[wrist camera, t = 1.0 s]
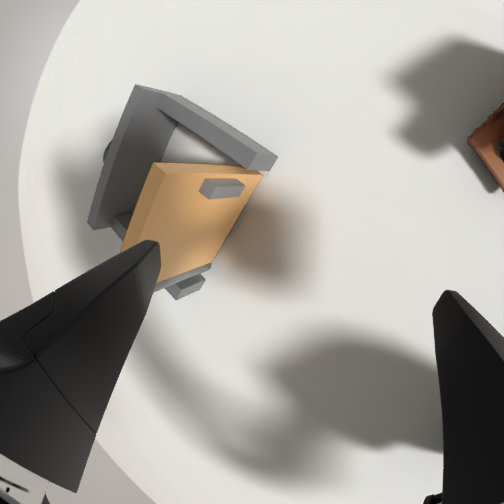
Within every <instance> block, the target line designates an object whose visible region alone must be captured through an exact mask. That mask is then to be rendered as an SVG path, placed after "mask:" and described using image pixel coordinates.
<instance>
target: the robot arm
mask: <svg viewBox="0 0 504 504" xmlns="http://www.w3.org/2000/svg"><path fill="white" fill-rule="evenodd" d="M160 270H161V253H160V244H159V242H158V241H153V240H144V241H142V242H140V243H138V244H136V245H134V246H132V247H130V248H129V249H127V250H125V251H123V252H121V253H119V254H118V255H116V256H114V257H112V258H110V259H109V260H107V261H105V262H103V263H101V264H100V265H98V266H96V267H94V268H93V269H91V270H89V271H87V272H86V273H84V274H82V275H80V276H79V277H77V278H75V279H73V280H72V281H70V282H68V283H67V284H65V285H63V286H62V287H60V288H58V289H56V290H55V292H54V291H53V292H51V293H50V294H48V295H46V296H45V297H43V298H41V299H40V300H38V301H36V302H35V303H33V304H31V305H30V306H28V307H26V308H24V309H23V310H20V311H19V312H17V313H15V314H13V315H11V316H9V317H7V318H6V319H3V320H1V321H0V504H50V503H49V501H48V499H47V497H46V494H45V492H46V489H47V487H48V484H49V481H50V482H52V483H54V484H56V485H59V486H61V487H63V488H65V489H68V490H70V491H72V492H74V493H77V490H78V488H79V484H80V481H81V478H82V475H83V472H84V468H85V466H86V463H87V460H88V457H89V454H90V451H91V448H92V445H93V443H94V440H95V437H96V434H95V433H97V431H98V428H99V426H100V423H101V420H102V418H103V415H104V412H105V410H106V407H107V405H108V402H109V399H110V397H111V394H112V392H113V389H114V387H115V384H116V382H117V380H118V377H119V375H120V372H121V370H122V367H123V365H124V363H125V360H126V358H127V356H128V353H129V351H130V349H131V346H132V344H133V342H134V340H135V337H136V335H137V333H138V331H139V328H140V326H141V324H142V322H143V320H144V317H145V315H146V312H147V309H148V307H149V303H150V300H151V297H152V294H153V291H154V288H155V285H156V282H157V279H158V277H159V274H160ZM432 316H433V327H434V339H435V354H436V362H437V369H438V377H439V386H440V396H441V408H442V423H443V467H444V469H443V490H442V493H440V494H436V495H434V494H433V495H430V496H426V498H425V500H424V503H423V504H504V337H503V336H502V335H501V334H500V333H499V332H498V331H497V330H496V329H495V328H494V327H493V326H492V325H491V324H490V323H489V322H488V321H487V320H486V319H485V318H484V317H483V316H482V315H481V314H480V313H479V312H478V311H477V310H476V309H475V308H474V307H472V306H471V305H470V304H469V303H468V302H467V301H466V300H465V299H464V298H463V297H462V296H461V295H460V294H459V293H457V292H456V291H452V290H445V291H444V292H443V293H442V295H441V297H440V298H439V300H438V302H437V303H436V305H435V306H434V308H433V313H432Z"/></svg>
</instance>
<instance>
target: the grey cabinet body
mask: <svg viewBox="0 0 504 504" xmlns="http://www.w3.org/2000/svg"><path fill="white" fill-rule="evenodd" d="M177 122H180V123H181V124H183V125H184V126H186V127H187V128H188V129H190V130H191V131H193V132H194V133H196V134H197V135H199V136H200V137H202V138H203V139H205V140H206V141H207V142H209V143H210V144H212V145H213V146H215V147H216V148H218V149H219V150H220V151H222V152H223V153H225V154H226V155H227V156H229V157H230V158H232V159H233V160H234V161H236V162H237V163H239V164H240V165H241V166H243V167H244V168H245V169H247V170H259V171H270V169H271V167H272V166H273V164H274V163H275V161H276V159H277V158H278V156H276V155H275V154H273V153H272V152H270V151H269V150H267V149H266V148H264V147H263V146H261V145H260V144H258V143H257V142H255V141H254V140H252V139H251V138H249V137H248V136H246V135H245V134H243V133H242V132H240V131H238V130H237V129H235V128H234V127H232V126H231V125H229V124H227V123H226V122H224V121H223V120H221V119H219V118H218V117H216V116H214V115H213V114H211V113H209V112H208V111H206V110H204V109H203V108H201V107H199V106H198V105H196V104H194V103H193V102H191V101H189V100H187V99H186V98H184V97H182V96H180V95H177V94H173V93H170V92H166V91H162V90H158V89H153V88H149V87H145V86H141V85H136V84H135V86H134V88H133V91H132V93H131V95H130V97H129V100H128V102H127V104H126V107H125V109H124V112H123V114H122V117H121V119H120V122H119V124H118V127H117V129H116V132H115V135H114V137H113V140H112V141H111V142H110V143H109V144H108V146H107V148H106V150H105V152H104V156H103V161H104V166H103V169H102V172H101V175H100V179H99V182H98V185H97V189H96V192H95V196H94V199H93V203H92V206H91V210H90V214H89V218H88V224H89V225H90V226H91V228H92V229H93V230H97V229H102V228H107V227H112V229H113V230H114V231H115V232H116V233H117V235H118V236H119V237H120V238H121V239H122V241H123V242H124V239H125V236H126V233H127V230H128V227H129V224H130V221H131V218H132V216H133V213H134V210H135V207H136V205H137V202H138V199H139V197H140V194H141V192H142V189H143V186H144V184H145V181H146V179H147V176H148V174H149V172H150V169H151V167H152V164H153V163H159V162H160V159H161V157H162V155H163V153H164V150H165V148H166V146H167V144H168V142H169V139H170V137H171V135H172V133H173V131H174V129H175V127H176V125H177ZM204 281H205V279H204V278H203V277H202V276H201V275H200V274H197V275H195V276H192V277H190V278H188V279H185V280H183V281H180V282H178V283H175V284H173V285H170V286H168V287H165V289H166V290H167V291H168V292H169V293H170V294H171V295H172V297H173V298H174V299H175V300H178V299H180V298H182V297H185V296H187V295H189V294H191V293H193V292H195V291H197V290H200V288H201V286H202V285H203V283H204Z"/></svg>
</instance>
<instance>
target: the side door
mask: <svg viewBox="0 0 504 504" xmlns="http://www.w3.org/2000/svg"><path fill="white" fill-rule="evenodd" d="M262 176H263V175H262V174H261V173H260V172H258V171H257V170H247V169H245V168H244V167H241V166H227V165H210V164H189V163H153V164H152V167H151V169H150V172H149V174H148V176H147V179H146V181H145V184H144V186H143V189H142V192H141V194H140V197H139V199H138V202H137V205H136V207H135V210H134V213H133V216H132V218H131V221H130V224H129V227H128V230H127V233H126V236H125V239H124V242H123V245H122V248H121V251H120V253H121V252H123V251H125V250H127V249H129V248H130V247H132V246H134V245H136V244H138V243H140V242H142V241H144V240H153V241H158V242H159V244H160V253H161V270H160V274H159V277H158V279H157V282H156V285H155V288H154V291H153V292H155V291H158V290H160V289H163V288H165V287H168V286H170V285H173V284H175V283H178V282H180V281H183V280H185V279H188V278H190V277H192V276H195V275H197V274H200V273H202V272H205V271H207V270H209V269H210V268H211V262H213V260H214V258H215V257H216V255H217V253H218V251H219V250H220V248H221V246H222V244H223V243H224V241H225V239H226V237H227V236H228V234H229V232H230V231H231V229H232V227H233V225H234V224H235V222H236V220H237V219H238V217H239V215H240V213H241V212H242V210H243V208H244V207H245V205H246V203H247V202H248V200H249V198H250V196H251V195H252V193H253V191H254V190H255V188H256V186H257V185H258V183H259V181H260V180H261V178H262Z"/></svg>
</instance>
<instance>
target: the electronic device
mask: <svg viewBox="0 0 504 504" xmlns="http://www.w3.org/2000/svg"><path fill="white" fill-rule="evenodd" d="M467 141H468V143H469V145H471V146H472V147H473V148H474V150H475V151H476V152H477V154H478V155H479V156H480V158H481V159H482V160H483V162H484V163H485V165H486V166H487V168H488V169H489V170H490V172H491V173H492V175H493V176H494V178H495V179H496V180H497V182H498V184H499V185H500V187H501V189H502V190H503V192H504V103H502V105H501V106H500V107H499V109H497V110H496V111H494V113H493V114H492V115H491V116H489V117H488V120H487V121H486V122H484V123H483V124H482V125H481V126H480V127H479V128H477V129H476V130H475V131H474V133H472V134H471V135H470V136H469V137H468V138H467Z"/></svg>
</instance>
